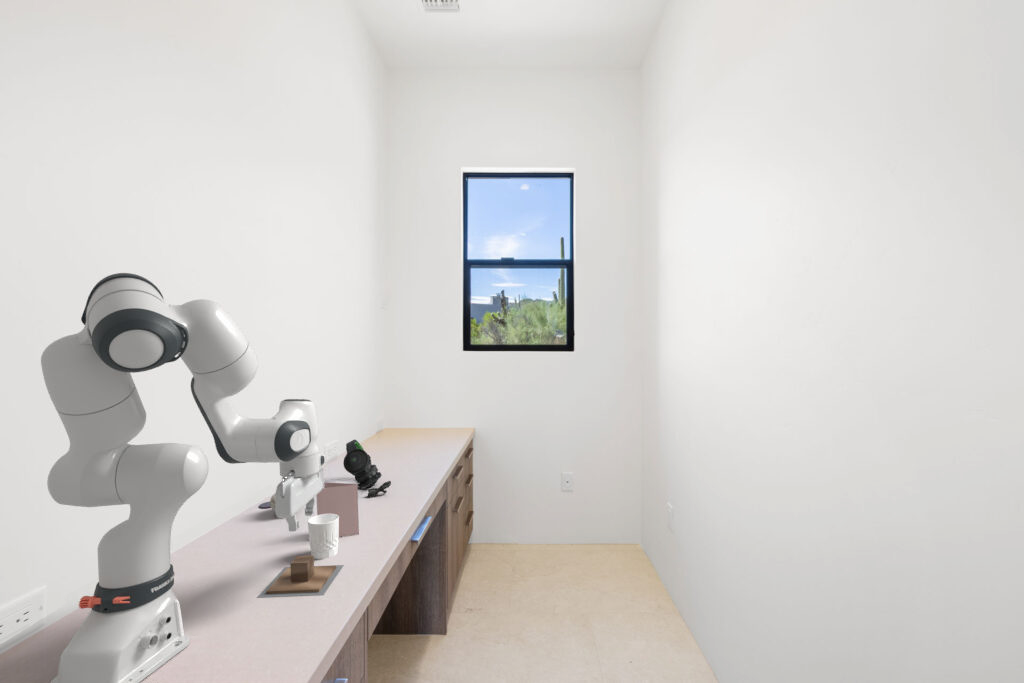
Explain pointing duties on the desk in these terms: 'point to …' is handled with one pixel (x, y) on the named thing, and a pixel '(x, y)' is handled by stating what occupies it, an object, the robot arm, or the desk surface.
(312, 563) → the walnut lid
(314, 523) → the white cup
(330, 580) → the rubber mat
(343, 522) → the greeting card
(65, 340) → the robot arm
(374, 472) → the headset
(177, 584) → the desk surface
